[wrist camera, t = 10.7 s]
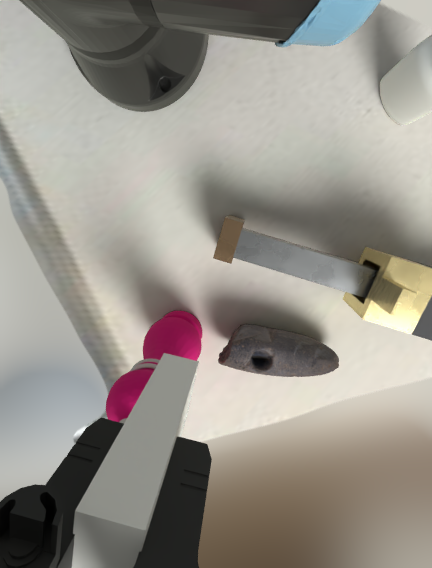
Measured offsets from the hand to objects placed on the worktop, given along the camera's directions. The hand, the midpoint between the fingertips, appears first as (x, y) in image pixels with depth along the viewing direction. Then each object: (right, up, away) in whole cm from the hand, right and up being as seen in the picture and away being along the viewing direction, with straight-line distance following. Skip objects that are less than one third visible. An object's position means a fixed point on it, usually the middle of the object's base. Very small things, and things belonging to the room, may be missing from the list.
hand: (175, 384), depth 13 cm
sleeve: (+20, +5, +22) cm, 31 cm away
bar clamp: (+17, +6, +25) cm, 31 cm away
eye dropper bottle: (+21, +24, +19) cm, 38 cm away
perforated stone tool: (+10, -3, +28) cm, 30 cm away
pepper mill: (-3, -2, +29) cm, 30 cm away
